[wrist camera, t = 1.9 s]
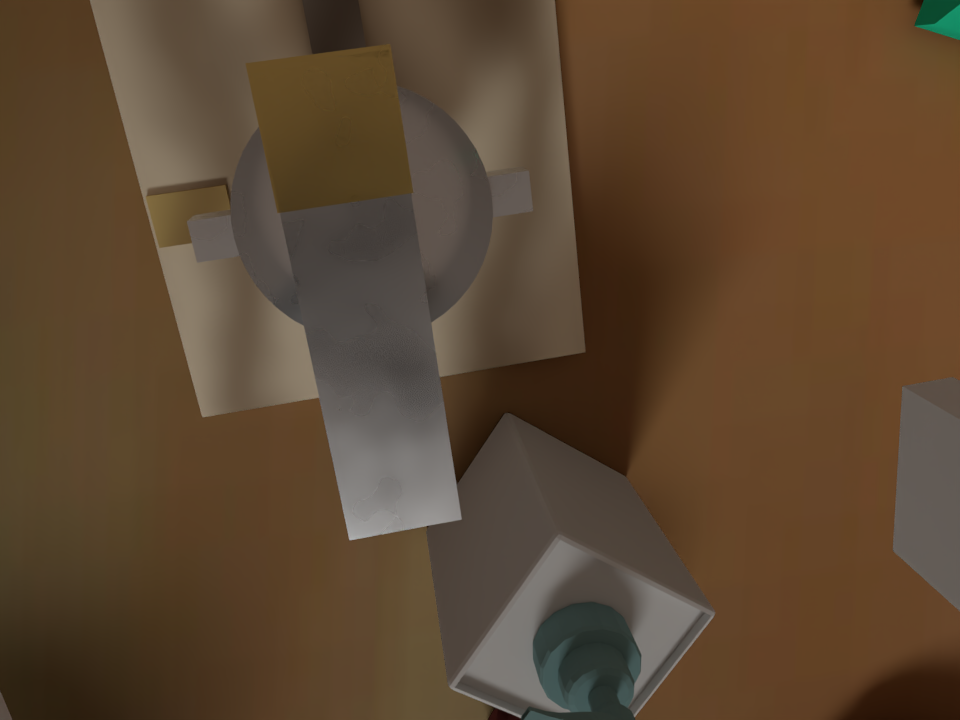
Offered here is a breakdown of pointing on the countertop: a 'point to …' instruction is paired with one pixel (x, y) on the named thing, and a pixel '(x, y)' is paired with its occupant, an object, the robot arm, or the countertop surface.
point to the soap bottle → (558, 584)
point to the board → (232, 121)
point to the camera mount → (940, 17)
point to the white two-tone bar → (365, 261)
